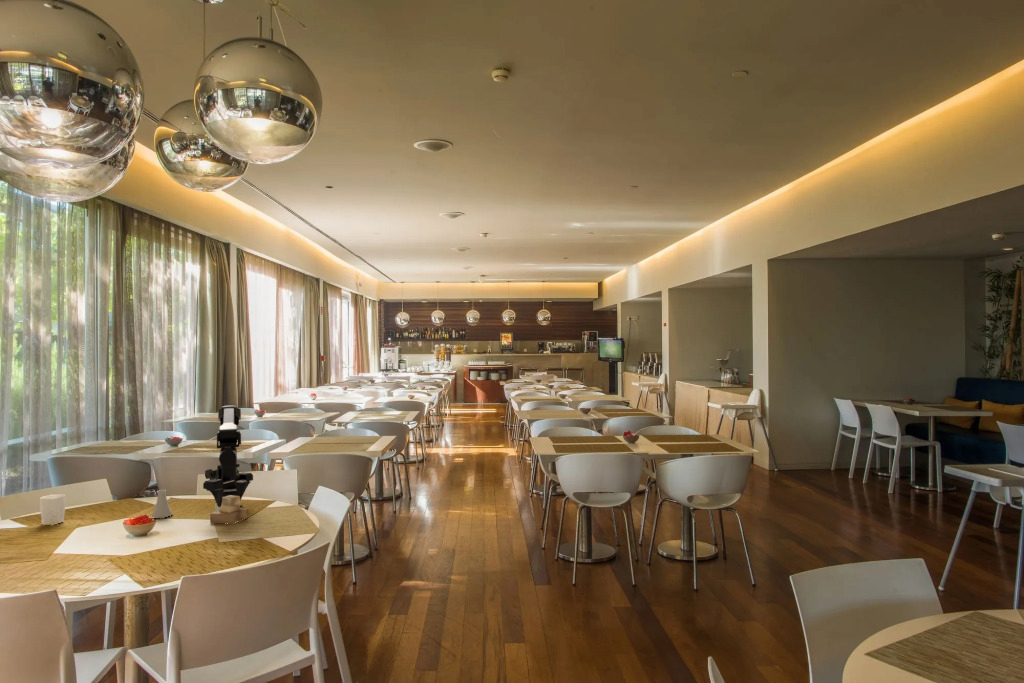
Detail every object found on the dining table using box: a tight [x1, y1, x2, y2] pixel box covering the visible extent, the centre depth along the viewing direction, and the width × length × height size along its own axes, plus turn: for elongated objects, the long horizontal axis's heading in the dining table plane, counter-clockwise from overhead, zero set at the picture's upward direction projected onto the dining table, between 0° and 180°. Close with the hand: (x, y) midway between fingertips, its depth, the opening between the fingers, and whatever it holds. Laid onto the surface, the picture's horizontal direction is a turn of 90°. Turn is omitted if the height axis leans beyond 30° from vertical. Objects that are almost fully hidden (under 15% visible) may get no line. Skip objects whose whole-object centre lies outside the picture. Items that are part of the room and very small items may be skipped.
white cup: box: [39, 493, 66, 525], centre depth 246 cm, size 8×8×10 cm
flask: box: [151, 489, 174, 519], centre depth 253 cm, size 7×7×10 cm
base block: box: [209, 507, 248, 525], centre depth 245 cm, size 9×9×4 cm
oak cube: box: [219, 495, 241, 513], centre depth 246 cm, size 5×5×5 cm
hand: (229, 504), depth 246 cm, fingers open, 9 cm apart
